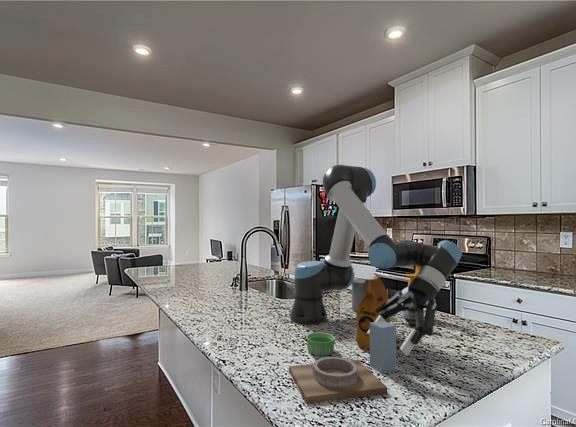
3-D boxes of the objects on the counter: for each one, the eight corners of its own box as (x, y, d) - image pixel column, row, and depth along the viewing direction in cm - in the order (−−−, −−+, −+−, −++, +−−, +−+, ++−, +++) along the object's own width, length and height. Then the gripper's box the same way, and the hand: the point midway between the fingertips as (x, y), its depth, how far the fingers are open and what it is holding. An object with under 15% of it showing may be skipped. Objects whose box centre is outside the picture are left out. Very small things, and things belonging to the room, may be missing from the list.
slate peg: (369, 365, 94) (369, 322, 94) (383, 362, 96) (384, 320, 96) (381, 373, 89) (381, 328, 89) (395, 370, 91) (396, 325, 91)
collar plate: (289, 371, 89) (289, 356, 89) (357, 365, 94) (358, 350, 94) (305, 403, 74) (306, 385, 74) (387, 393, 78) (387, 376, 78)
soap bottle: (397, 313, 147) (397, 257, 148) (417, 313, 148) (417, 257, 148) (406, 319, 138) (406, 260, 139) (427, 319, 139) (427, 260, 139)
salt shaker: (421, 329, 126) (421, 297, 126) (405, 328, 127) (405, 296, 127) (418, 324, 132) (418, 294, 132) (403, 323, 133) (403, 293, 133)
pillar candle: (372, 308, 156) (372, 276, 156) (374, 313, 146) (373, 279, 146) (351, 307, 157) (351, 275, 158) (351, 313, 148) (351, 279, 148)
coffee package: (350, 346, 108) (351, 278, 109) (366, 335, 118) (366, 273, 119) (380, 353, 102) (380, 281, 103) (394, 342, 112) (394, 276, 113)
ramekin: (336, 347, 107) (336, 333, 108) (333, 358, 99) (333, 343, 99) (308, 344, 109) (308, 331, 110) (303, 355, 101) (304, 340, 101)
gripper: (470, 302, 88) (428, 369, 82) (402, 285, 111) (365, 337, 104) (456, 283, 86) (411, 351, 80) (390, 270, 109) (351, 322, 102)
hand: (385, 343), depth 92 cm, fingers open, 13 cm apart
